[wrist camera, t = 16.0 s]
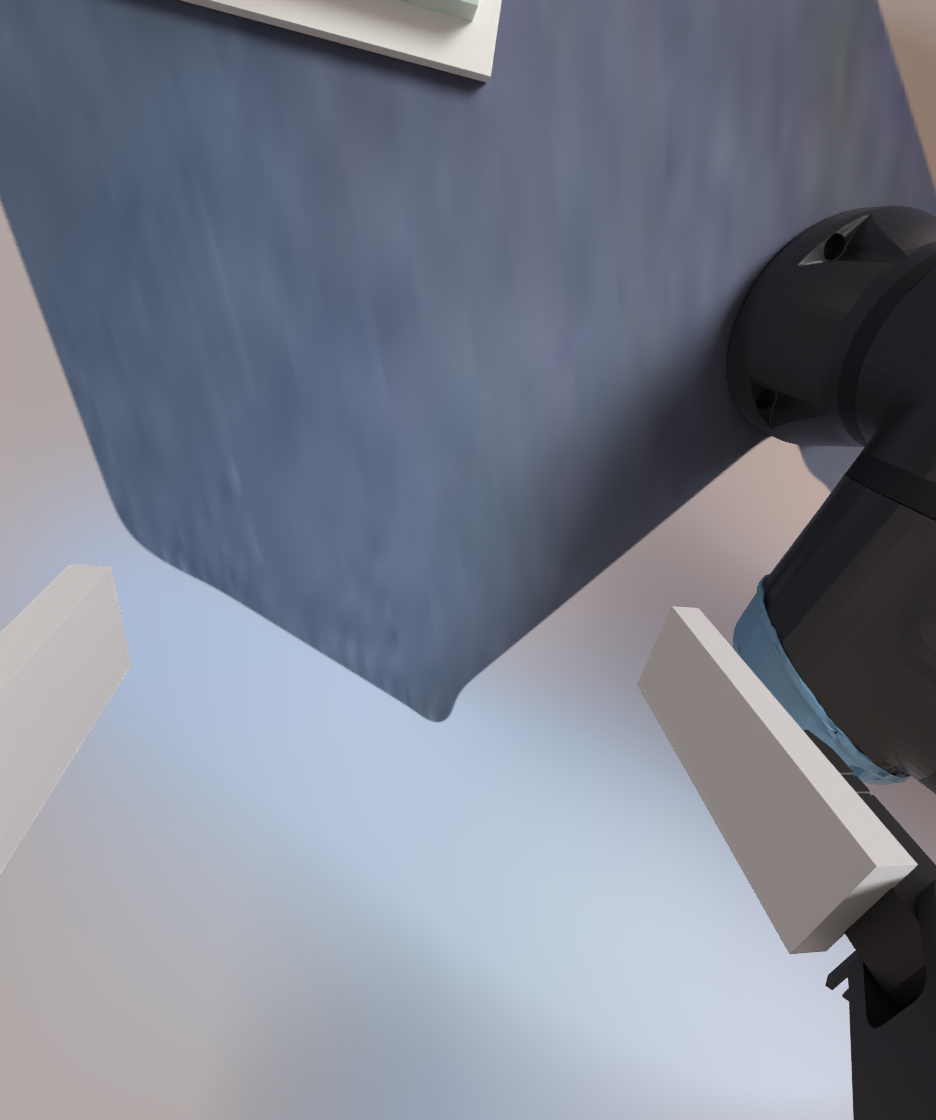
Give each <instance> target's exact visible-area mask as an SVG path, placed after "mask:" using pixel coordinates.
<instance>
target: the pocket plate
mask: <svg viewBox="0 0 936 1120" xmlns="http://www.w3.org/2000/svg"><path fill="white" fill-rule="evenodd" d="M181 1H185V2H188V3H192V4H196V5H200V6H203V7H207V8H211V9H214V10H218V11H222V12H226V13H229V14H233V15H237V16H241V17H244V18H248V19H252V20H255V21H259V22H263V23H267V24H270V25H274V26H278V27H281V28H285V29H289V30H293V31H296V32H300V33H304V34H307V35H311V36H315V37H319V38H322V39H326V40H330V41H334V42H337V43H341V44H345V45H348V46H352V47H356V48H360V49H363V50H367V51H371V52H374V53H378V54H382V55H386V56H389V57H393V58H397V59H400V60H404V61H408V62H412V63H415V64H419V65H423V66H427V67H430V68H434V69H438V70H441V71H445V72H449V73H453V74H456V75H460V76H464V77H467V78H471V79H475V80H479V81H482V82H486V83H487V82H488V80H489V78H490V77H491V71H492V64H493V57H494V50H495V43H496V36H497V29H498V22H499V15H500V8H501V1H502V0H181Z"/></svg>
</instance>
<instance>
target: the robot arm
mask: <svg viewBox="0 0 936 1120" xmlns="http://www.w3.org/2000/svg"><path fill="white" fill-rule="evenodd" d="M728 381H729V386H730V391H731V394H732V397H733V400H734V402H735V404H736V406H737V408H738V410H739V411H740V413H741V414H742V415H743V416H744V418H745V419H746V420H747V421H748V422H749V423H751V424H752V425H753V426H754V427H756V428H757V429H759V430H761V431H763V432H765V433H767V434H769V435H771V436H773V437H775V438H778V439H780V440H782V441H785V442H789V443H793V444H798V445H806V446H853V447H865V448H864V449H863V450H862V452H861V453H860V455H859V456H858V457H857V459H856V460H855V462H854V463H853V464H852V466H851V467H850V468H849V470H848V471H847V472H846V473H845V474H844V476H843V477H842V478H841V480H840V481H839V483H838V484H837V485H836V487H835V488H834V489H833V491H832V492H831V494H830V495H829V497H828V498H827V499H826V501H825V502H824V503H823V505H822V506H821V507H820V509H819V510H818V511H817V513H816V514H815V515H814V516H813V518H812V519H811V521H810V522H809V523H808V525H807V526H806V527H805V528H804V530H803V531H802V533H801V534H800V535H799V536H798V538H797V539H796V540H795V542H794V543H793V544H792V546H791V547H790V548H789V550H788V551H787V552H786V554H785V555H784V556H783V558H782V559H781V560H780V562H779V563H778V564H777V565H776V567H775V568H774V569H773V571H772V572H771V573H770V574H769V575H765V576H764V577H763V578H762V579H761V581H760V582H759V585H758V587H757V593H756V594H755V596H754V597H753V599H752V600H751V602H750V603H749V605H748V607H747V608H746V609H745V611H744V612H743V614H742V615H741V617H740V619H739V620H738V622H737V624H736V626H735V629H734V634H733V648H734V649H733V648H732V647H731V646H730V645H729V644H728V642H727V641H726V640H725V639H724V638H723V636H722V635H721V634H720V633H719V632H718V631H717V629H716V628H715V627H714V626H713V625H712V624H711V622H710V621H709V620H708V619H707V618H706V617H705V615H703V613H702V612H701V611H700V610H699V609H698V608H687V607H674V606H673V607H672V608H671V610H670V613H669V615H668V617H667V619H666V622H665V624H664V626H663V628H662V630H661V633H660V635H659V637H658V639H657V642H656V644H655V646H654V648H653V650H652V653H651V655H650V657H649V659H648V661H647V664H646V666H645V668H644V670H643V673H642V675H641V677H640V679H639V682H638V684H637V685H638V686H639V688H640V690H641V692H642V694H643V695H644V697H645V699H646V700H647V703H648V704H649V706H650V708H651V709H652V711H653V713H654V715H655V717H656V718H657V720H658V722H659V724H660V726H661V727H662V729H663V731H664V733H665V734H666V736H667V738H668V740H669V741H670V743H671V745H672V747H673V748H674V750H675V752H676V754H677V756H678V757H679V759H680V761H681V763H682V764H683V766H684V768H685V770H686V771H687V773H688V775H689V777H690V778H691V780H692V782H693V784H694V785H695V787H696V789H697V791H698V793H699V795H700V796H701V798H702V800H703V802H704V803H705V805H706V807H707V809H708V810H709V812H710V814H711V816H712V818H713V819H714V821H715V823H716V825H717V826H718V828H719V830H720V832H721V833H722V835H723V837H724V839H725V841H726V842H727V844H728V846H729V847H730V849H731V851H732V853H733V855H734V856H735V858H736V860H737V862H738V863H739V865H740V867H741V869H742V871H743V872H744V874H745V876H746V878H747V879H748V881H749V883H750V885H751V887H752V888H753V890H754V892H755V893H756V895H757V897H758V899H759V901H760V902H761V904H762V906H763V908H764V910H765V911H766V913H767V915H768V917H769V918H770V920H771V922H772V924H773V925H774V927H775V929H776V931H777V933H778V934H779V936H780V938H781V940H782V941H783V943H784V945H785V947H786V948H787V950H788V952H789V954H797V953H809V952H822V951H827V950H828V949H829V948H830V947H831V946H832V945H833V944H834V943H835V942H836V941H837V940H839V939H840V938H841V937H842V936H843V935H844V934H846V936H847V937H848V939H849V940H850V942H851V943H852V945H853V946H854V948H855V949H856V951H854V952H853V953H852V954H851V955H850V956H849V957H848V958H847V959H846V960H844V961H843V962H842V963H841V964H840V965H839V966H838V967H837V968H835V969H834V970H833V971H832V972H831V973H830V974H829V975H828V978H827V981H826V985H825V986H827V987H829V988H830V989H831V990H833V989H834V988H835V987H837V986H838V985H839V984H840V983H841V982H842V981H843V980H845V979H846V978H848V983H849V989H847V990H846V991H845V993H844V994H843V996H842V997H844V998H845V999H846V1000H848V1001H849V1009H850V1036H851V1061H852V1086H853V1087H852V1088H853V1112H854V1113H853V1114H854V1120H936V865H935V864H934V863H933V862H932V860H931V859H930V858H929V857H928V856H927V855H926V854H925V852H923V850H922V849H921V848H920V847H919V846H918V845H917V843H916V842H915V841H914V840H913V839H912V838H911V837H910V836H909V834H908V833H907V832H906V831H905V830H904V829H903V828H902V827H901V825H900V824H899V823H898V822H897V821H896V820H895V819H894V817H893V816H892V815H891V814H890V813H889V812H888V811H887V810H886V808H885V807H884V806H883V805H882V804H881V803H880V802H879V800H878V799H877V798H876V797H875V796H874V795H870V793H869V789H868V788H867V787H866V786H865V785H864V784H863V782H866V783H869V784H874V785H889V784H893V783H899V782H904V781H906V780H907V779H908V778H909V777H910V776H912V777H914V778H915V779H917V780H918V781H919V782H921V783H922V784H924V785H925V786H926V787H927V788H929V789H930V790H931V791H933V792H934V793H935V794H936V216H935V215H933V214H931V213H928V212H926V211H923V210H920V209H917V208H912V207H905V206H883V207H871V208H861V209H855V210H850V211H846V212H843V213H840V214H837V215H834V216H832V217H830V218H827V219H825V220H823V221H821V222H819V223H818V224H816V225H814V226H813V227H811V228H809V229H808V230H806V231H805V232H803V233H802V234H801V235H799V236H798V237H797V238H796V239H794V240H793V241H792V242H791V243H789V244H788V245H787V246H786V247H785V248H784V249H783V250H782V251H781V252H780V253H779V254H778V255H777V256H776V257H775V258H774V259H773V260H772V262H771V263H770V264H769V265H768V266H767V268H766V269H765V270H764V271H763V273H762V274H761V275H760V277H759V278H758V280H757V281H756V283H755V284H754V286H753V287H752V289H751V291H750V292H749V294H748V296H747V298H746V300H745V302H744V304H743V306H742V308H741V310H740V312H739V315H738V317H737V320H736V323H735V326H734V329H733V332H732V336H731V341H730V346H729V352H728ZM130 667H131V662H130V657H129V652H128V647H127V642H126V638H125V632H124V627H123V623H122V618H121V613H120V608H119V603H118V598H117V593H116V589H115V583H114V579H113V574H112V569H111V567H104V566H89V565H74V564H70V565H69V566H68V567H67V568H66V569H65V570H64V571H63V572H62V573H61V574H60V575H59V576H58V577H56V578H55V579H54V581H52V582H51V584H49V585H48V587H46V588H45V589H44V590H43V591H42V592H41V593H40V594H39V595H38V596H37V597H36V598H35V599H34V600H33V601H32V602H31V603H30V604H29V605H28V606H27V607H26V608H25V609H24V610H23V611H22V612H21V613H20V614H19V615H18V616H17V617H16V618H15V619H13V620H12V622H10V624H8V625H7V627H5V628H4V629H3V630H2V631H1V632H0V874H1V873H2V871H3V869H4V868H5V866H6V865H7V863H8V861H9V860H10V858H11V856H12V855H13V853H14V852H15V850H16V849H17V847H18V846H19V844H20V842H21V841H22V839H23V838H24V836H25V834H26V833H27V831H28V829H29V828H30V826H31V825H32V823H33V822H34V820H35V818H36V817H37V815H38V814H39V812H40V810H41V809H42V807H43V806H44V804H45V803H46V801H47V799H48V798H49V796H50V795H51V793H52V791H53V790H54V788H55V786H56V785H57V783H58V782H59V780H60V779H61V777H62V775H63V774H64V772H65V771H66V769H67V767H68V766H69V764H70V763H71V761H72V759H73V758H74V756H75V755H76V753H77V751H78V750H79V748H80V747H81V745H82V744H83V741H84V740H85V739H86V737H87V736H88V733H89V732H90V731H91V729H92V728H93V726H94V724H95V723H96V721H97V719H98V718H99V716H100V715H101V713H102V712H103V710H104V708H105V707H106V705H107V704H108V702H109V700H110V699H111V697H112V695H113V694H114V692H115V691H116V689H117V688H118V686H119V684H120V683H121V681H122V680H123V678H124V677H125V675H126V673H127V672H128V670H129V669H130ZM862 781H863V782H862Z"/></svg>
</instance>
